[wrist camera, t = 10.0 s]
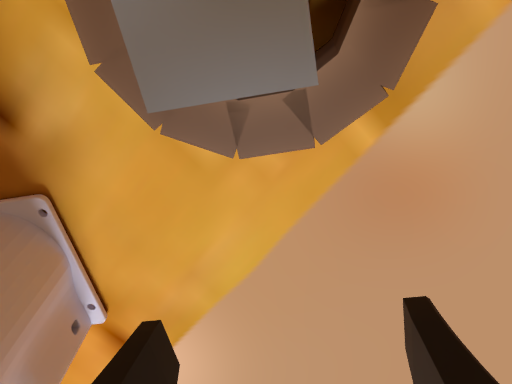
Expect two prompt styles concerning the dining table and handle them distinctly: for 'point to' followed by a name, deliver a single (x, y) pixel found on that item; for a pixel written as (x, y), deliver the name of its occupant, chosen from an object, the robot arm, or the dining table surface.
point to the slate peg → (216, 49)
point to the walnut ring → (278, 103)
